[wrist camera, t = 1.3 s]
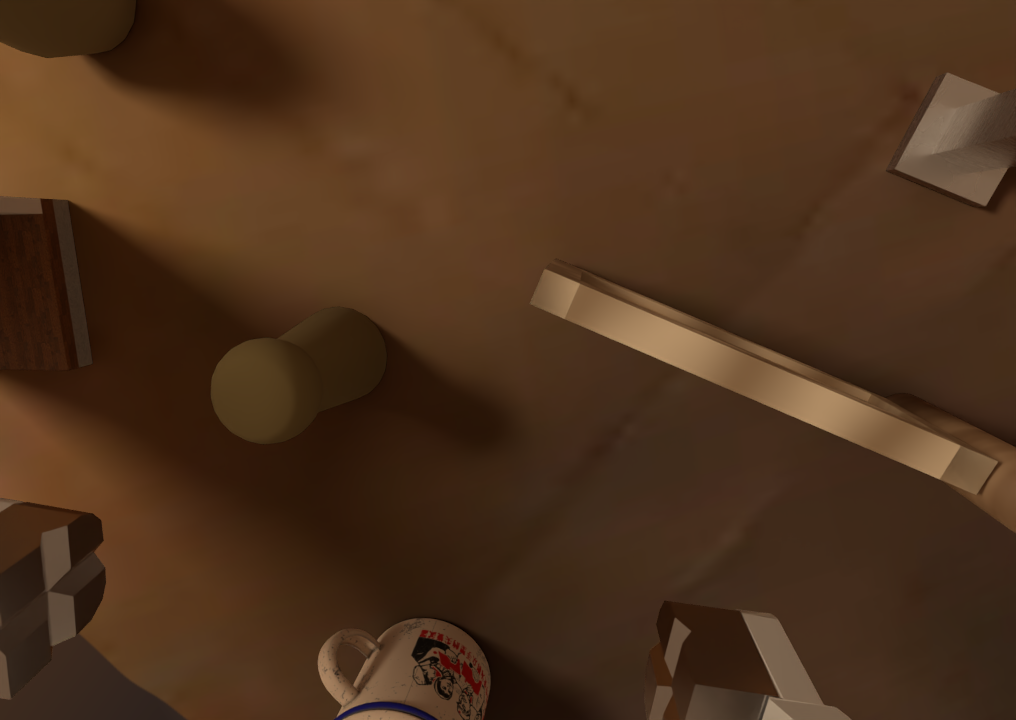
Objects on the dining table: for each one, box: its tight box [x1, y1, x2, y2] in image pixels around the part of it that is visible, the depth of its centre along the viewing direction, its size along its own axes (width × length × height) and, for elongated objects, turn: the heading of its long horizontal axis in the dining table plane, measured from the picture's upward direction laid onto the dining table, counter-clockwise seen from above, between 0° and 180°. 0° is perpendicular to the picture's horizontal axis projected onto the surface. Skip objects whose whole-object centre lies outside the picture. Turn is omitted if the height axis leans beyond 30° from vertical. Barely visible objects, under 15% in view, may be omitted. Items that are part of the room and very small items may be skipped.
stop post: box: [886, 73, 1016, 207], centre depth 28 cm, size 5×5×9 cm
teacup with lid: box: [318, 618, 491, 720], centre depth 38 cm, size 12×9×12 cm
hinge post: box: [886, 393, 1016, 533], centre depth 30 cm, size 3×3×13 cm
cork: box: [211, 307, 387, 445], centre depth 34 cm, size 6×6×11 cm
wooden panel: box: [530, 259, 998, 495], centre depth 31 cm, size 20×2×10 cm, turn 67°
